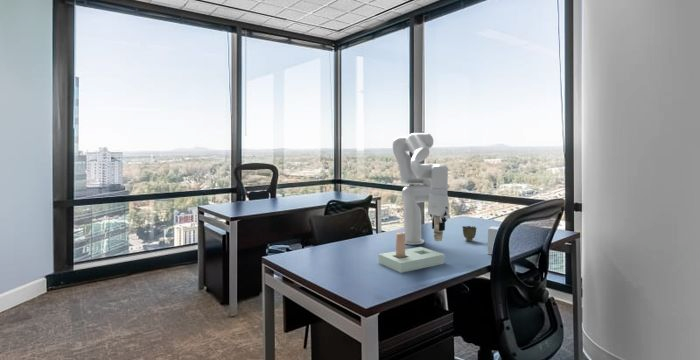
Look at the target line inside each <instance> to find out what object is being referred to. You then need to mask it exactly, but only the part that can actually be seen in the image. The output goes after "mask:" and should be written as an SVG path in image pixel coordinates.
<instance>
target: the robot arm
mask: <svg viewBox="0 0 700 360" xmlns="http://www.w3.org/2000/svg"><path fill="white" fill-rule="evenodd" d="M392 141H393V142H392V152H393V155H394V157H395V159H396V161H397V164H398V169H399V173H400V179H401V182H402V184H403V185H406V186H404V187H403V188H402V190H401V198H402V204H403V206H402V207H403V231H402V233H405V245H412V246H413V245H414V246H415V245H422V244H424V243H425V240H424V239H423V238H422V210H421V208H420V206H419V205H418V203H427V202H428V203H427V214H428V215H429V216H430V218H431V219H430V220H431V228H432V230H434V215H435V216H439V217H440V223H439V231H445V230H446V223H447V221H448V219H450V218H451V215H450V200H449V196H448V185H449V184H448V183H449V182H448V178H449V176H448V175H449V172H448V171H449V167H448V166H447V165H445V164H441V163H421V162H423V161H425V160H426V159H427V158H428V157H429V156H430V149H431V148H433V145H434V138H433V136H432V134H431V133H428V132H412V133H410V134H408V135H407V136H398V137H396V138H394V139H393V140H392ZM407 152H410V153H411V154H412V157H411V155H410V154H409V153H407ZM442 217H443V219H442Z"/></svg>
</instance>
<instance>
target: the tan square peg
mask: <svg viewBox="0 0 700 360" xmlns="http://www.w3.org/2000/svg"><path fill="white" fill-rule="evenodd" d="M405 249H406V244H405V233H403V232H396V233H395V251H396V258H399V259H401V258H405Z"/></svg>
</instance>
